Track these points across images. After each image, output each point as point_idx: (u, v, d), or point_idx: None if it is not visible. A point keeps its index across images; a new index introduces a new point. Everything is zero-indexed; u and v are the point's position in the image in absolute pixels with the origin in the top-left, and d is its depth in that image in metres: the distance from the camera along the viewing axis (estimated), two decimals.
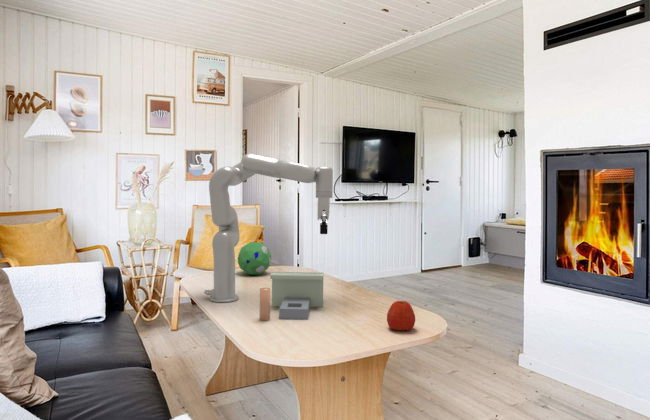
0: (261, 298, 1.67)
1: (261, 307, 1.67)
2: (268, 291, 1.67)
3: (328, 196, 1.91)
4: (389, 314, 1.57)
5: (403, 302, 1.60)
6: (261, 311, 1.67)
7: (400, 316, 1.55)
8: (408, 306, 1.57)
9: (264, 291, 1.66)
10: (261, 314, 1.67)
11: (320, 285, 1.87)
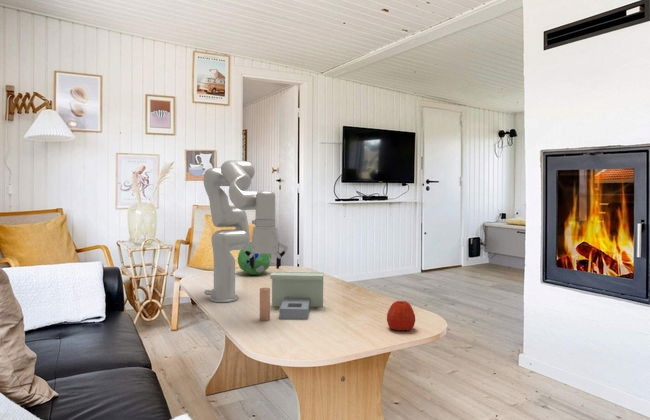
0: (261, 298, 1.67)
1: (261, 307, 1.67)
2: (268, 291, 1.67)
3: None
4: (389, 314, 1.57)
5: (403, 302, 1.60)
6: (261, 311, 1.67)
7: (400, 316, 1.55)
8: (408, 306, 1.57)
9: (264, 291, 1.66)
10: (261, 314, 1.67)
11: (320, 285, 1.87)
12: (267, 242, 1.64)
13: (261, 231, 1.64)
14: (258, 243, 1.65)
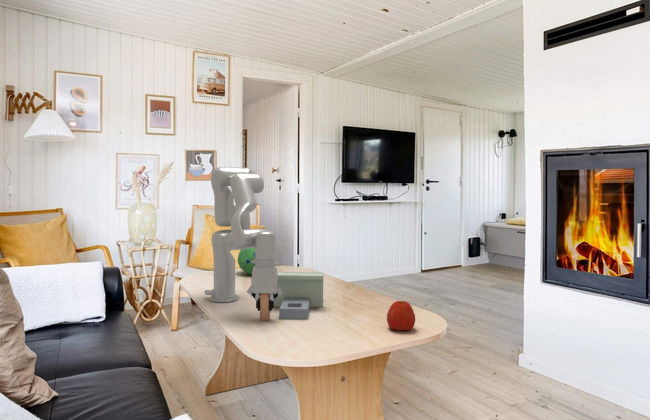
0: (261, 298, 1.67)
1: (261, 307, 1.67)
2: None
3: None
4: (389, 314, 1.57)
5: (403, 302, 1.60)
6: (261, 311, 1.67)
7: (400, 316, 1.55)
8: (408, 306, 1.57)
9: None
10: (261, 314, 1.67)
11: (320, 285, 1.87)
12: (267, 282, 1.65)
13: (261, 271, 1.65)
14: (258, 283, 1.65)
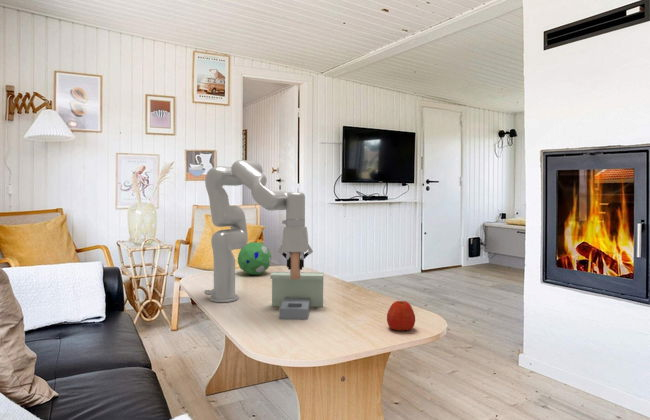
0: (292, 257, 1.72)
1: (292, 266, 1.72)
2: None
3: None
4: (389, 314, 1.57)
5: (403, 302, 1.60)
6: (292, 270, 1.72)
7: (400, 316, 1.55)
8: (408, 306, 1.57)
9: None
10: (292, 273, 1.72)
11: (320, 285, 1.87)
12: (297, 241, 1.71)
13: (292, 231, 1.71)
14: (289, 242, 1.71)
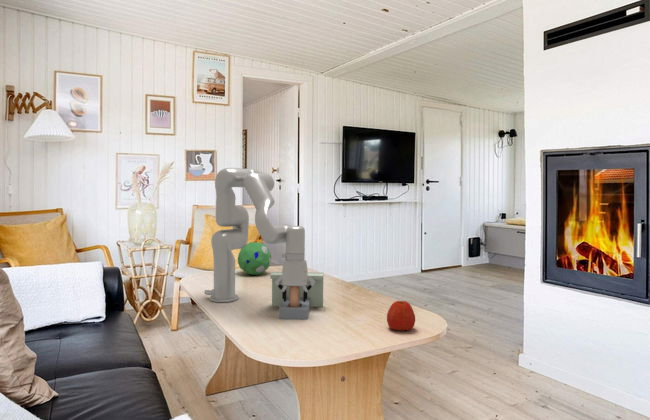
0: (291, 294, 1.73)
1: (291, 303, 1.73)
2: (298, 288, 1.73)
3: None
4: (389, 314, 1.57)
5: (403, 302, 1.60)
6: None
7: (400, 316, 1.55)
8: (408, 306, 1.57)
9: (294, 288, 1.73)
10: None
11: (320, 285, 1.87)
12: (297, 275, 1.71)
13: (292, 265, 1.71)
14: (288, 276, 1.72)
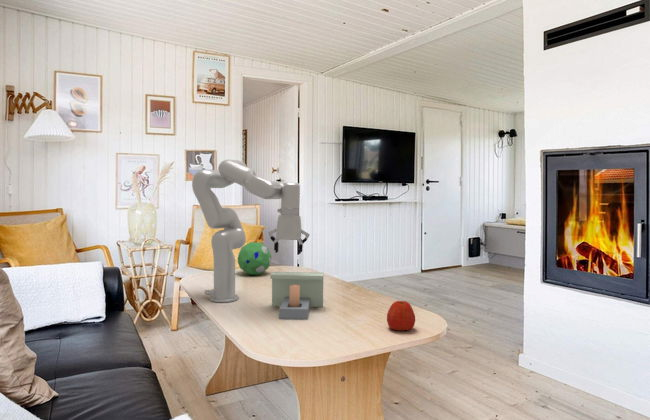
0: (291, 294, 1.73)
1: (291, 303, 1.73)
2: (298, 288, 1.73)
3: None
4: (389, 314, 1.57)
5: (403, 302, 1.60)
6: None
7: (400, 316, 1.55)
8: (408, 306, 1.57)
9: (294, 288, 1.73)
10: None
11: (320, 285, 1.87)
12: (291, 229, 1.80)
13: (286, 219, 1.80)
14: (282, 230, 1.80)
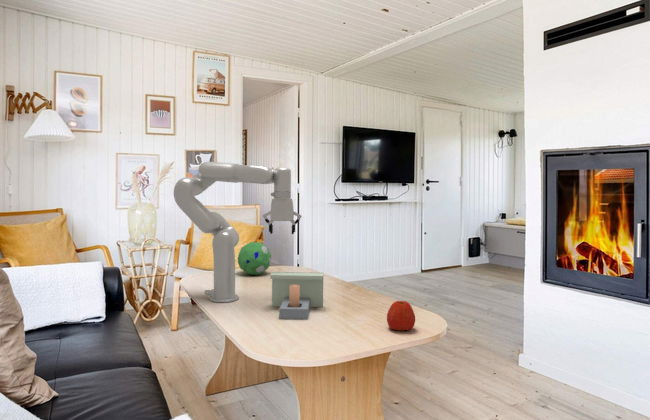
0: (291, 294, 1.73)
1: (291, 303, 1.73)
2: (298, 288, 1.73)
3: None
4: (389, 314, 1.57)
5: (403, 302, 1.60)
6: None
7: (400, 316, 1.55)
8: (408, 306, 1.57)
9: (294, 288, 1.73)
10: None
11: (320, 285, 1.87)
12: (284, 211, 1.93)
13: (279, 202, 1.93)
14: (276, 212, 1.93)
